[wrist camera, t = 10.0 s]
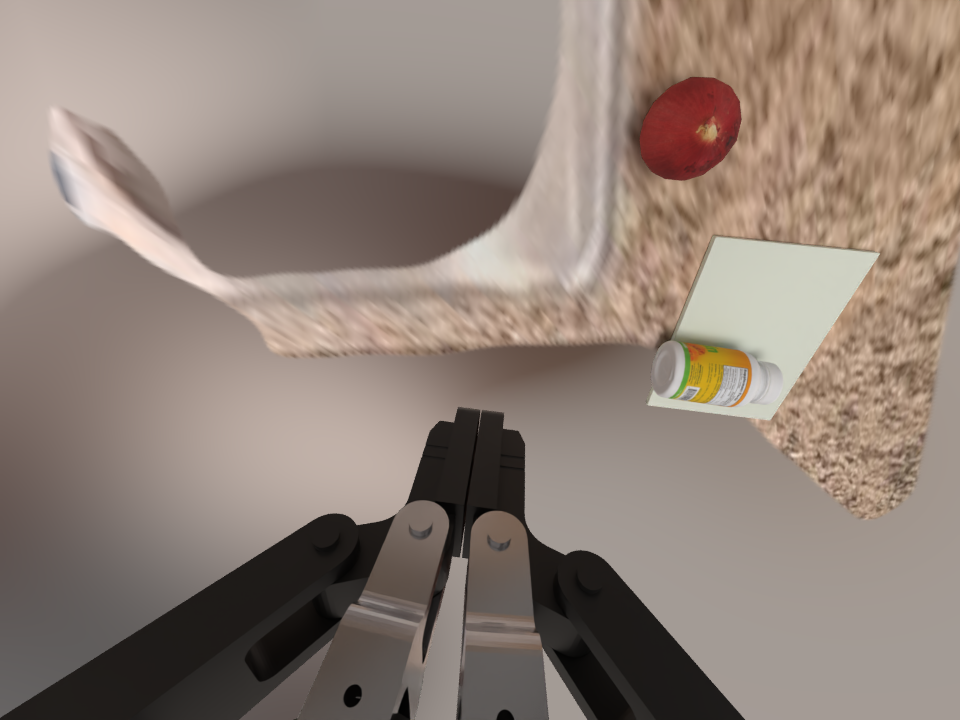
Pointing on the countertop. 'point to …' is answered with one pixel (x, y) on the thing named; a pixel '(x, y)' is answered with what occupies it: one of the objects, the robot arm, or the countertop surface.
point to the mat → (766, 307)
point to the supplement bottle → (713, 375)
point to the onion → (690, 128)
